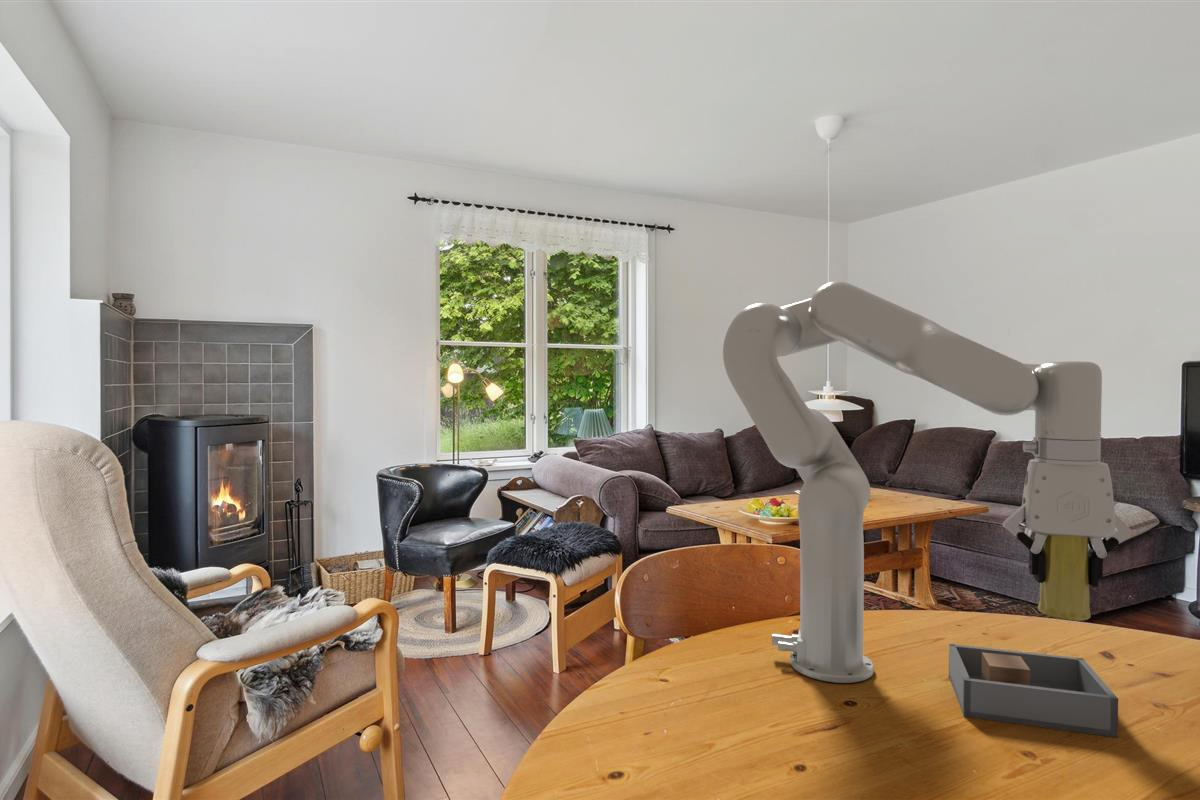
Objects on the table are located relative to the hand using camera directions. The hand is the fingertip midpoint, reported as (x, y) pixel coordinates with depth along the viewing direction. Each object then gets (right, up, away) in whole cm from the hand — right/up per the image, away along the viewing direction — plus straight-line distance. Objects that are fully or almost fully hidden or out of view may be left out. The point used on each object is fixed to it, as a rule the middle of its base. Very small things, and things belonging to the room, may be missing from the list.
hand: (1064, 580), depth 96 cm
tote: (-4, -18, +2) cm, 18 cm away
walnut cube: (-7, -17, +3) cm, 19 cm away
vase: (0, -5, 0) cm, 5 cm away
